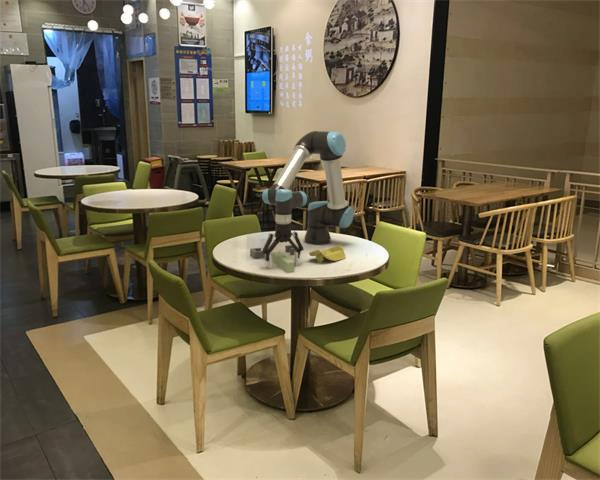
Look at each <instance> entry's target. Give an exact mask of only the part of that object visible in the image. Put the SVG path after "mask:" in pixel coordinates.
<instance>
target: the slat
mask: <svg viewBox="0 0 600 480" xmlns="http://www.w3.org/2000/svg"><path fill="white" fill-rule="evenodd" d="M271 253H272V254H271V262H272V261H273V264H275V265H277V266H278V267H279V268H281V269H282V270H283V271H284V272H285V273H287V274H289V273H295V262H294V260H292V258H289V257H287V255H285V254H283V253H282V252H280V251H273V252H271Z"/></svg>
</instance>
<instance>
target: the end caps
mask: <svg viewBox="0 0 600 480" xmlns="http://www.w3.org/2000/svg"><path fill="white" fill-rule="evenodd" d="M296 246H297V247H298V245H296ZM284 248H285V251H284V252H285V253H286V252H287V253H289V256H294V251H296V250H295V249H294V247H293V246H292V245H291V244H287V245H285V246H284ZM298 248H299V247H298ZM249 255H250V257H251V258H252V259H254V260H256V259H257V260H258V259H266V254H264V253H263V252H262V247H255V248H249Z"/></svg>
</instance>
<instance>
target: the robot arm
mask: <svg viewBox="0 0 600 480" xmlns="http://www.w3.org/2000/svg"><path fill="white" fill-rule="evenodd" d="M346 143H347V142H346V140H345V137H344V135H343V134H342V133H340V132H337V131H317V130H313V131H309V132H308V133H306V134H304V135H303V136H302V137H301V138H300V139H299V140H298V141H297V142H296V143H295V145H294V146H293V148H292V149H293V150H292V151H293V152H292V154H291V155H290V157H289V159H288V160H287V161H286V163H285V165H284V167H282V170H281V171H280V173H279V175H278V177H277V178H276V180H275V181H274V183H273V184H272V186H271V187H270V188H265V189H264V190H263V192H262V194H261V197H262V201H263V202H264V203H265V204H267V205H271V206H272V205H273V206H275V218H274V221H275V227H274V230H275V232H274V233H268V238H267V240H266V242H265V243H264V247H263V248H262V249H261V251H262V252H263V253H264V254H265V261H266V262H267V268H269V269H272V254H271V253H272V251H274V249H275V248H276V246H277V245H278V244H279V243H287V242H288V243H289V245H292V246H293V247H294V249H295V250H296V251H294V255H293V256H294V257H293V258H294V260H293V262H295V264H294V266H299V259H300V256H301V252H302V251H304V247H303V244H302V243H301V241H300V238H299V235H298V232H297V231H295V230H294V231H292V216H293V215H292V212H293V211H292V209H297V208H301V207H304V206H305V205H306V204H307V202H308V197H307V194H306V193H305V192H304V191H302V190H297V191H293V190H291V189H290V187H291V185H292V183H293V181H294V180H295V178H296V177H297V175H298V174H299V172H300V170H301V169H302V167H303V165H304V163H305V162H306V160H308V159H310V157H311V156H312V155H317V154H318V155H319V158H320V161H322V163H323V166H324V174H325V180H326V181H325V182H326V187H327V194H328V201H327V200H322V201H321V200H320V201H313V202H310V203H309V204H308V207H307V229H306V231H305V235H304V239H303V240H304V243H306V244H309V245H328V244H330V243H331V239H332V238H331V234H330V230H329V227H335V228H336V227H337V228H342V229H343V228H348V227H350V226H351V224H352V222H353V220H354V216H355V211H354V208H353V207H352V206H349V201H348V200H346V197H345V189H344V180H343V175H342V174H343V173H342V166H341V165H342V164H341V159H342V157H343V155H344V154H345V152H346ZM291 237H293V238H294V241H295V242H296V244H297V245H296V244H295V243H294V242H293V240H292V239H291ZM273 239H274V240H273ZM272 241H273V242H272ZM297 246H298V247H299V248H298V247H297Z"/></svg>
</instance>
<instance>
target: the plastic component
mask: <svg viewBox="0 0 600 480" xmlns="http://www.w3.org/2000/svg"><path fill="white" fill-rule="evenodd" d="M308 254H309V256H310V257H315V258H316V261H317V263H321V262H323V261H325V259H326V260H329V261H332V262H336V261H340V260H344V259H346V253H345V251H344V249H343V247H342V245H337V246H334V247H331V248H328V249H324V250H323V249H322V250H321V249H316V250H314V251H310V252H309V253H308ZM324 258H325V259H324Z"/></svg>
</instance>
